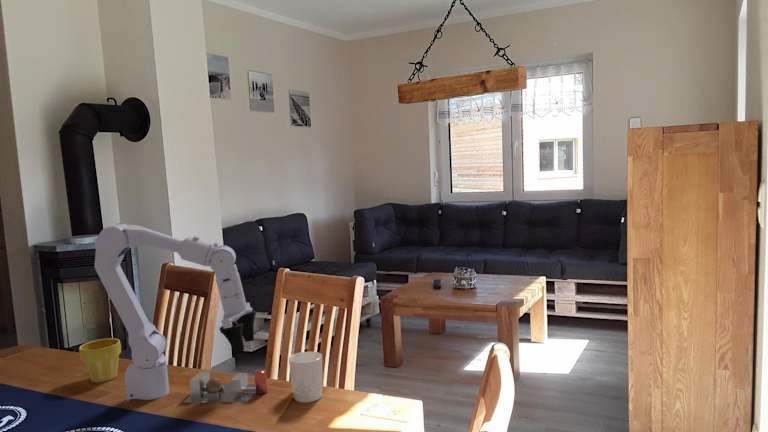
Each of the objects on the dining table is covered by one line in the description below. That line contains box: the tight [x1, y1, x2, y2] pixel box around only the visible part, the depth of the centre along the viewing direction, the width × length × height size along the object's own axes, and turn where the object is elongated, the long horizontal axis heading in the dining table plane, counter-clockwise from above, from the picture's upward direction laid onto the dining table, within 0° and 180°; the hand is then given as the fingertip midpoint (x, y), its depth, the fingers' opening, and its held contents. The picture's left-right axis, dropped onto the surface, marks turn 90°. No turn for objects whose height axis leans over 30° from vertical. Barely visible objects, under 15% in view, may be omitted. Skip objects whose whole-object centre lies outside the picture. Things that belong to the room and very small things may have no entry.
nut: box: [206, 377, 222, 393], centre depth 148 cm, size 4×4×4 cm
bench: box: [182, 370, 257, 404], centre depth 147 cm, size 16×11×6 cm
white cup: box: [288, 351, 323, 404], centre depth 145 cm, size 8×8×10 cm
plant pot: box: [78, 337, 122, 383], centre depth 166 cm, size 10×10×10 cm
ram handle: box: [230, 368, 268, 395], centre depth 146 cm, size 8×5×5 cm, turn 83°
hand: (244, 346), depth 151 cm, fingers open, 7 cm apart
